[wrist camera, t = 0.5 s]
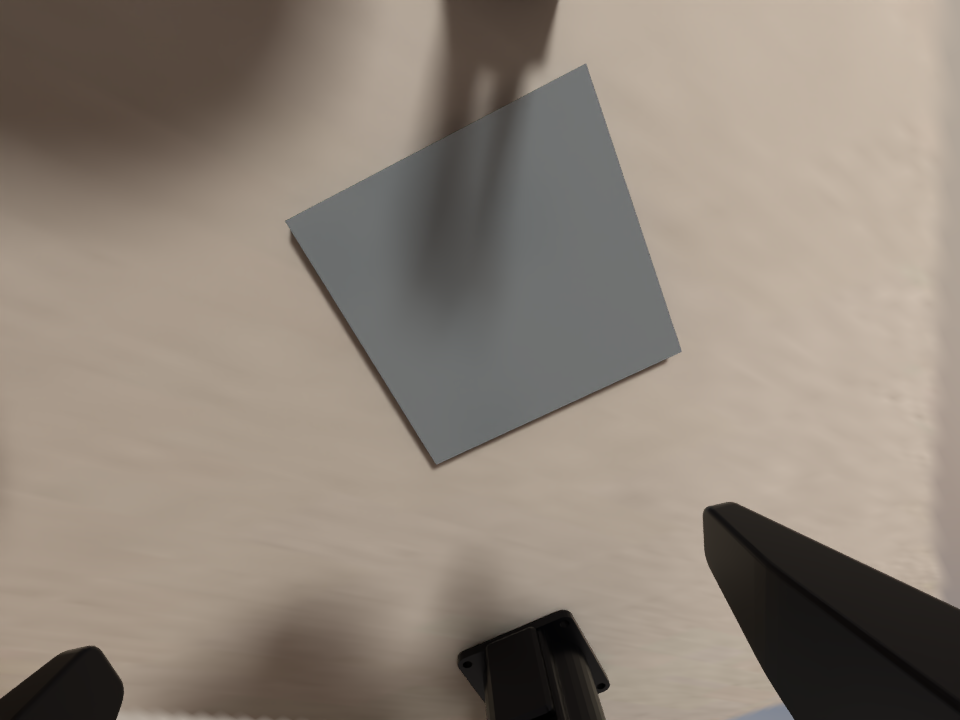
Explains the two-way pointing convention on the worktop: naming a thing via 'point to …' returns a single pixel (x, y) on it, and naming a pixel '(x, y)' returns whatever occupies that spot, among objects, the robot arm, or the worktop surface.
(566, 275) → the plate
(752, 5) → the worktop surface
